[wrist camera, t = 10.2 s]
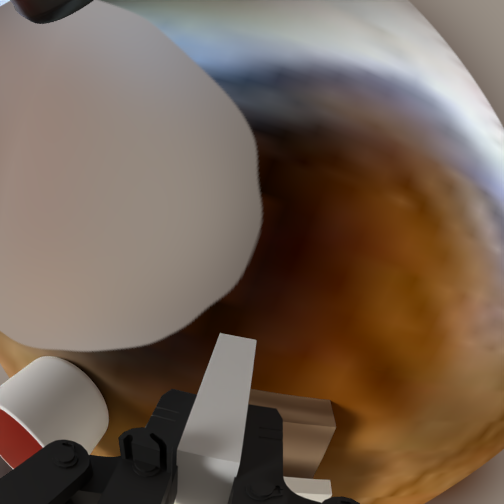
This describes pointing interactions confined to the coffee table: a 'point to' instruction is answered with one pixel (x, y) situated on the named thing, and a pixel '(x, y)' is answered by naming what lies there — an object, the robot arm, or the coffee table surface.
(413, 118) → the coffee table surface
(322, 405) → the board
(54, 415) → the cup
